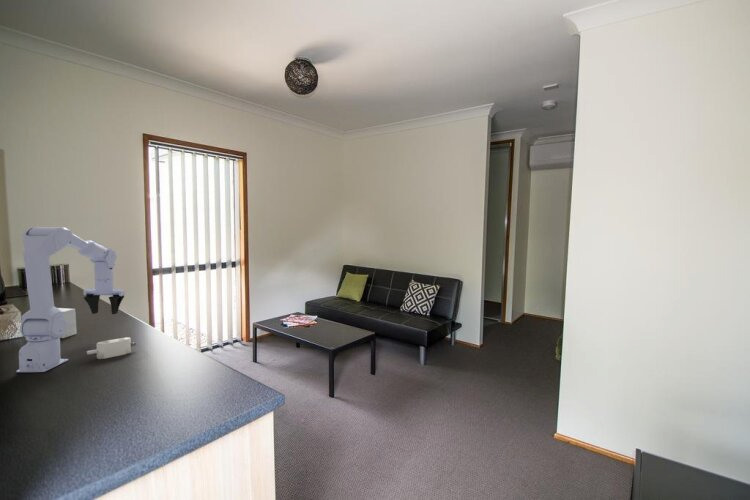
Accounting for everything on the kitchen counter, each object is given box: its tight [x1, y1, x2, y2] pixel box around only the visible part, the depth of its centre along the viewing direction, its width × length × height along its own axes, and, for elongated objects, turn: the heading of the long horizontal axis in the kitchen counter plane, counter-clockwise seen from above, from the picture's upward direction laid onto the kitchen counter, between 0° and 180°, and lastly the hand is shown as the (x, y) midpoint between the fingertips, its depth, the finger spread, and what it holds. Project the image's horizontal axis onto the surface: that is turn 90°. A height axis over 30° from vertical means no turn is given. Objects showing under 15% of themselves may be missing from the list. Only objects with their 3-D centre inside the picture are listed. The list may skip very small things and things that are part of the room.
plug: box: [86, 336, 137, 360], centre depth 120 cm, size 13×4×5 cm, turn 135°
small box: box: [57, 307, 77, 339], centre depth 138 cm, size 8×6×10 cm
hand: (104, 313), depth 136 cm, fingers open, 7 cm apart
